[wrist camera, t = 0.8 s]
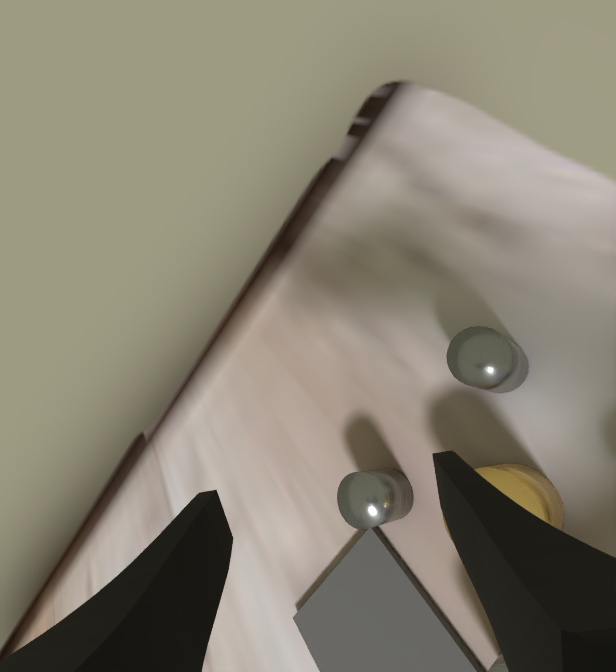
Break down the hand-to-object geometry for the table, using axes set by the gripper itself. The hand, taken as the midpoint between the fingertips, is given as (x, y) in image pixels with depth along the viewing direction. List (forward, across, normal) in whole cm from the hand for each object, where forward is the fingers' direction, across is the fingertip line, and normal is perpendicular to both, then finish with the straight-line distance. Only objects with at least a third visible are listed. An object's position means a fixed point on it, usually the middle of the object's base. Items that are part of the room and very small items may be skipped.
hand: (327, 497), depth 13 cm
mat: (+8, 0, +18) cm, 19 cm away
